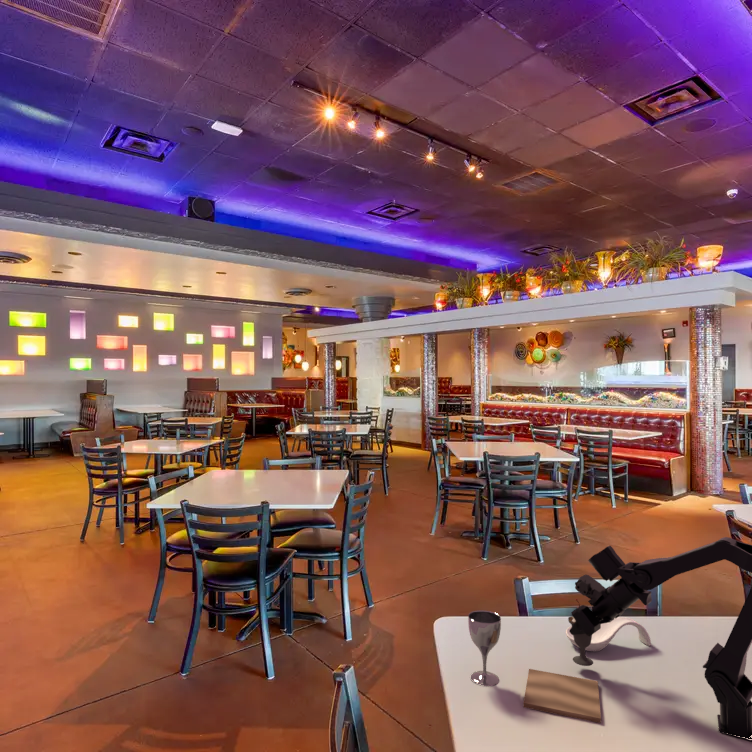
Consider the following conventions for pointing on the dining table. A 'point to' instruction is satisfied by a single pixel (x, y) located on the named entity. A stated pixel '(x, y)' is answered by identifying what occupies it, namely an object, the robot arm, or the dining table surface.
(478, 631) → the wine glass
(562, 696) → the serving board
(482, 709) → the dining table surface
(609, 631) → the spoon rest
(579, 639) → the sundae
